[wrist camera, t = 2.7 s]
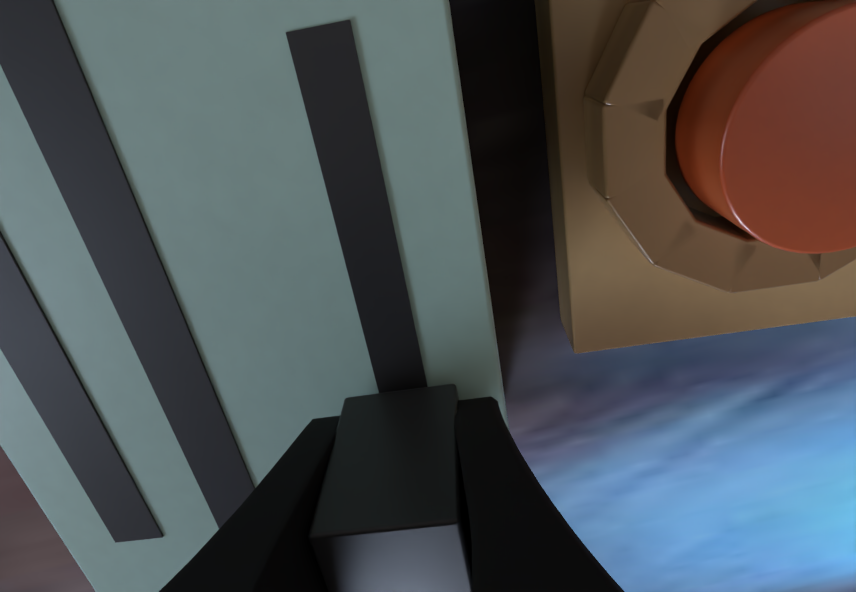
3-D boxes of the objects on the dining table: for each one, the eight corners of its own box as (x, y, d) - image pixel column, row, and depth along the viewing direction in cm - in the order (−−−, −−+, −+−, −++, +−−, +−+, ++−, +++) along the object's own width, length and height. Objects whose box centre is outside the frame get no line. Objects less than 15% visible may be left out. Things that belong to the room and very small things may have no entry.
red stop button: (872, 202, 11) (957, 236, 9) (671, 232, 12) (714, 271, 10) (912, -20, 10) (1022, -30, 8) (674, 25, 10) (727, 24, 8)
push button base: (850, 280, 15) (955, 344, 12) (560, 320, 16) (588, 391, 13) (937, -233, 11) (1143, -342, 8) (522, -140, 11) (552, -205, 8)
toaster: (503, 406, 18) (529, 575, 12) (205, 443, 18) (106, 615, 13) (402, -298, 10) (357, -651, 5) (-70, -177, 11) (-537, -364, 6)
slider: (474, 484, 11) (485, 641, 8) (373, 495, 11) (349, 652, 8) (455, 381, 10) (461, 520, 7) (343, 396, 10) (305, 537, 7)
